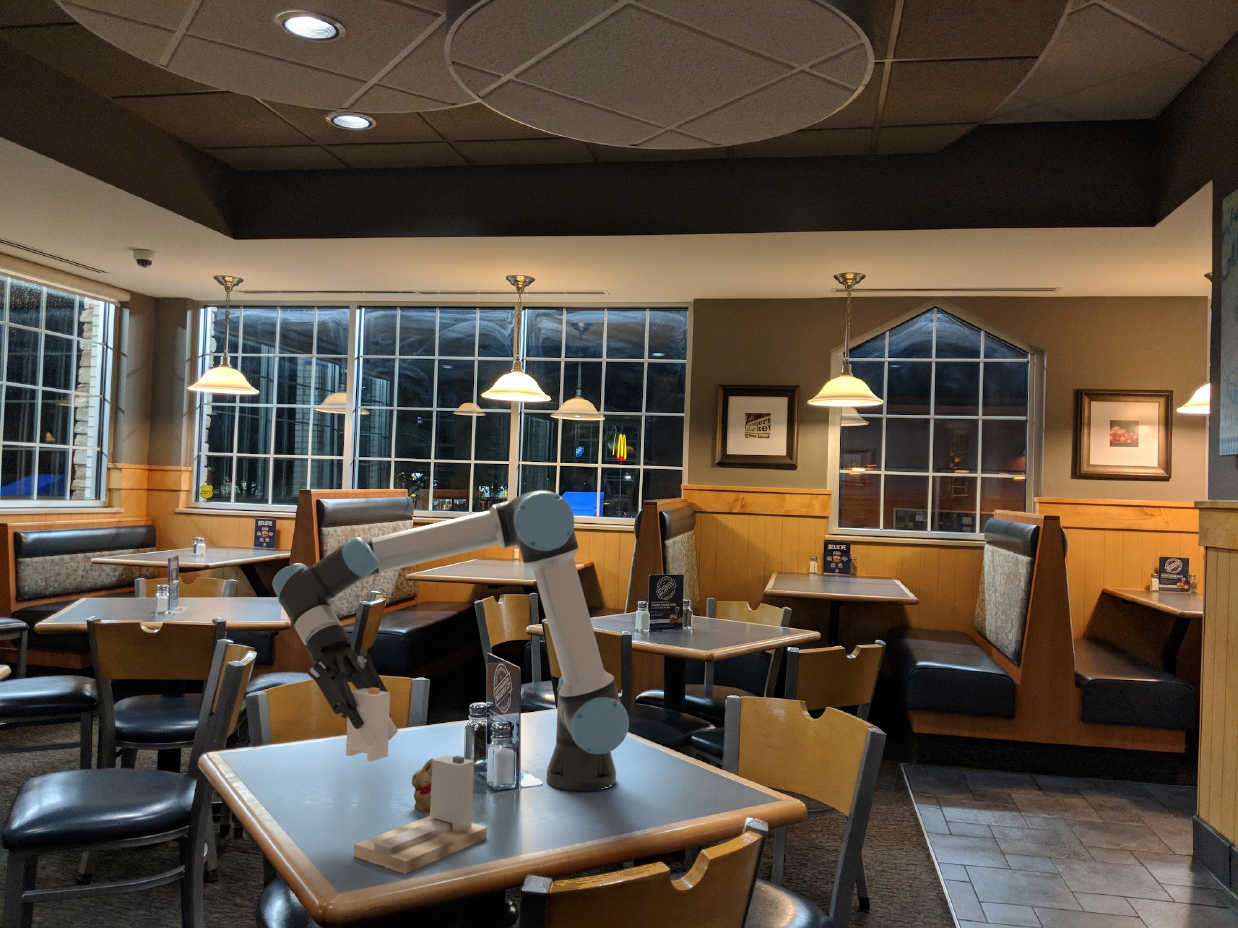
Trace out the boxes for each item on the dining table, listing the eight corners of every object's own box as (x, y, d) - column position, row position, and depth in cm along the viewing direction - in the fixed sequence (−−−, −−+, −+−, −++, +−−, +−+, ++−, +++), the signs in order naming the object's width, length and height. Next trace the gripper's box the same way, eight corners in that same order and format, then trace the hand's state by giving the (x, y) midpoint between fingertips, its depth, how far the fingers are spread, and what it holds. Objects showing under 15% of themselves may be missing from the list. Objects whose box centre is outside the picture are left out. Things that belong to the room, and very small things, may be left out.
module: (345, 755, 167) (348, 686, 168) (362, 750, 171) (365, 683, 171) (370, 761, 164) (373, 691, 164) (387, 756, 167) (390, 687, 168)
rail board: (436, 823, 173) (437, 807, 173) (486, 838, 166) (487, 821, 166) (353, 856, 156) (354, 837, 156) (405, 873, 149) (406, 854, 150)
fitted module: (429, 823, 167) (432, 754, 168) (444, 817, 170) (447, 750, 171) (456, 831, 164) (459, 761, 164) (471, 825, 167) (474, 756, 168)
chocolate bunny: (432, 800, 186) (435, 750, 186) (453, 811, 180) (456, 759, 180) (408, 805, 182) (410, 754, 183) (428, 817, 176) (431, 763, 177)
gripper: (348, 643, 183) (406, 741, 174) (275, 653, 169) (334, 761, 159) (368, 618, 181) (428, 716, 171) (295, 627, 166) (356, 735, 157)
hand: (382, 737), depth 165 cm, fingers closed on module, 4 cm apart
